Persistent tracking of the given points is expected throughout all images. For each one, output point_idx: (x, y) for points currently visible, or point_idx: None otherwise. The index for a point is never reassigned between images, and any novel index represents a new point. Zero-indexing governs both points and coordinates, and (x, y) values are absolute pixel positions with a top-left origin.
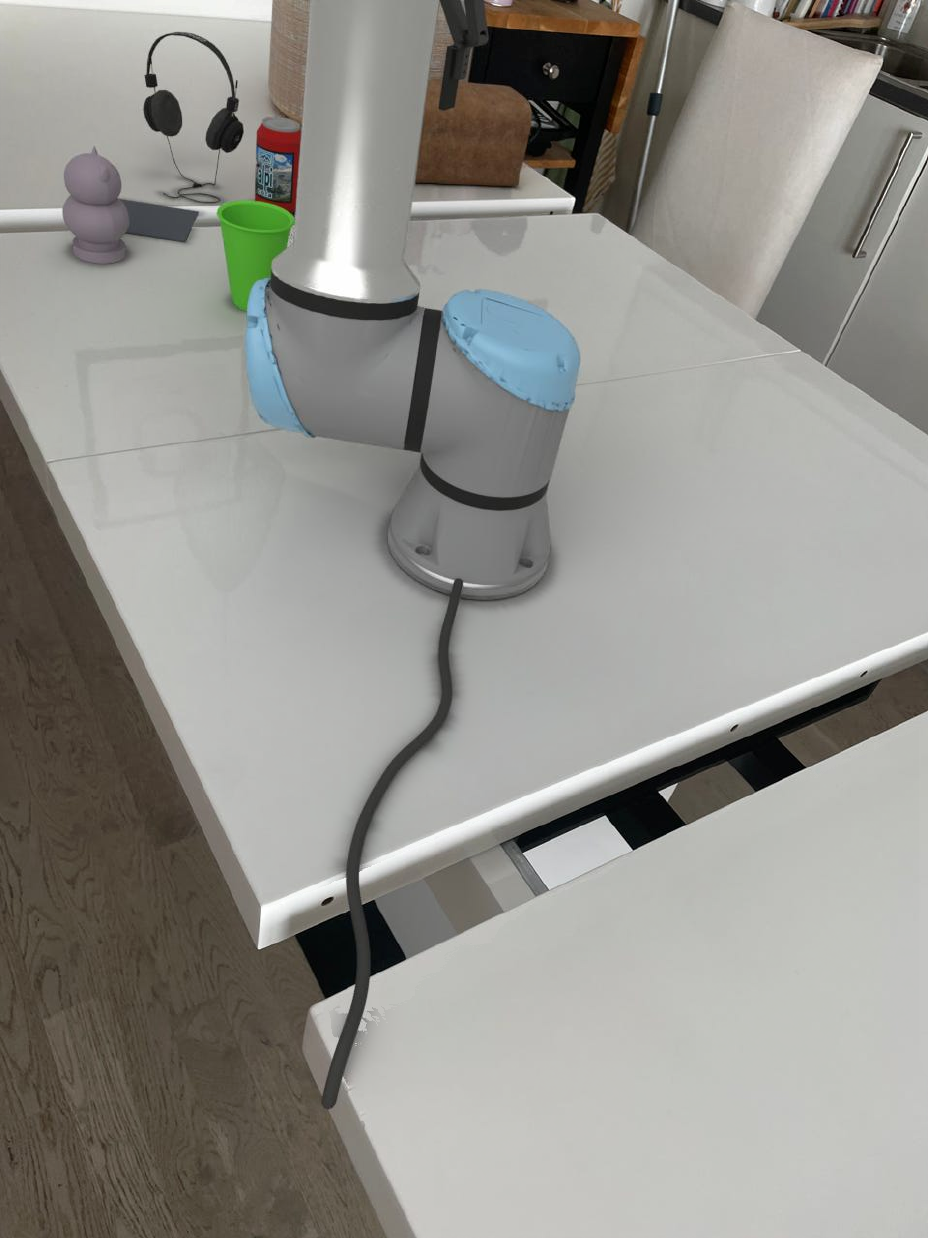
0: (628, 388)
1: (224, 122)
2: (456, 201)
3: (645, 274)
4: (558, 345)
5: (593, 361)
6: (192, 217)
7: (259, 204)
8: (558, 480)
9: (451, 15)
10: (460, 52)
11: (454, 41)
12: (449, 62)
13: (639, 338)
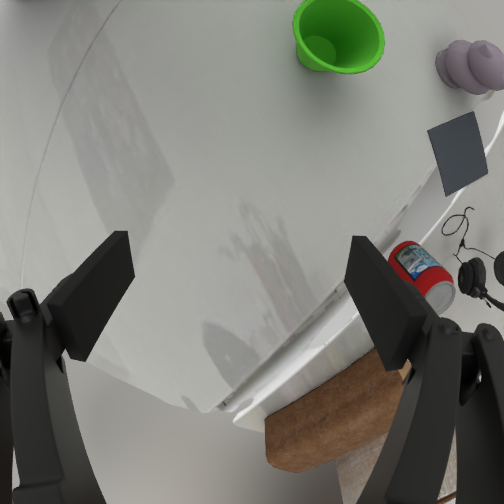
0: (25, 184)
1: (477, 274)
2: (288, 378)
3: (120, 362)
4: None
5: (53, 201)
6: (444, 181)
7: (361, 66)
8: (19, 44)
9: (20, 371)
10: (44, 310)
11: (37, 316)
12: (69, 281)
13: (58, 265)
